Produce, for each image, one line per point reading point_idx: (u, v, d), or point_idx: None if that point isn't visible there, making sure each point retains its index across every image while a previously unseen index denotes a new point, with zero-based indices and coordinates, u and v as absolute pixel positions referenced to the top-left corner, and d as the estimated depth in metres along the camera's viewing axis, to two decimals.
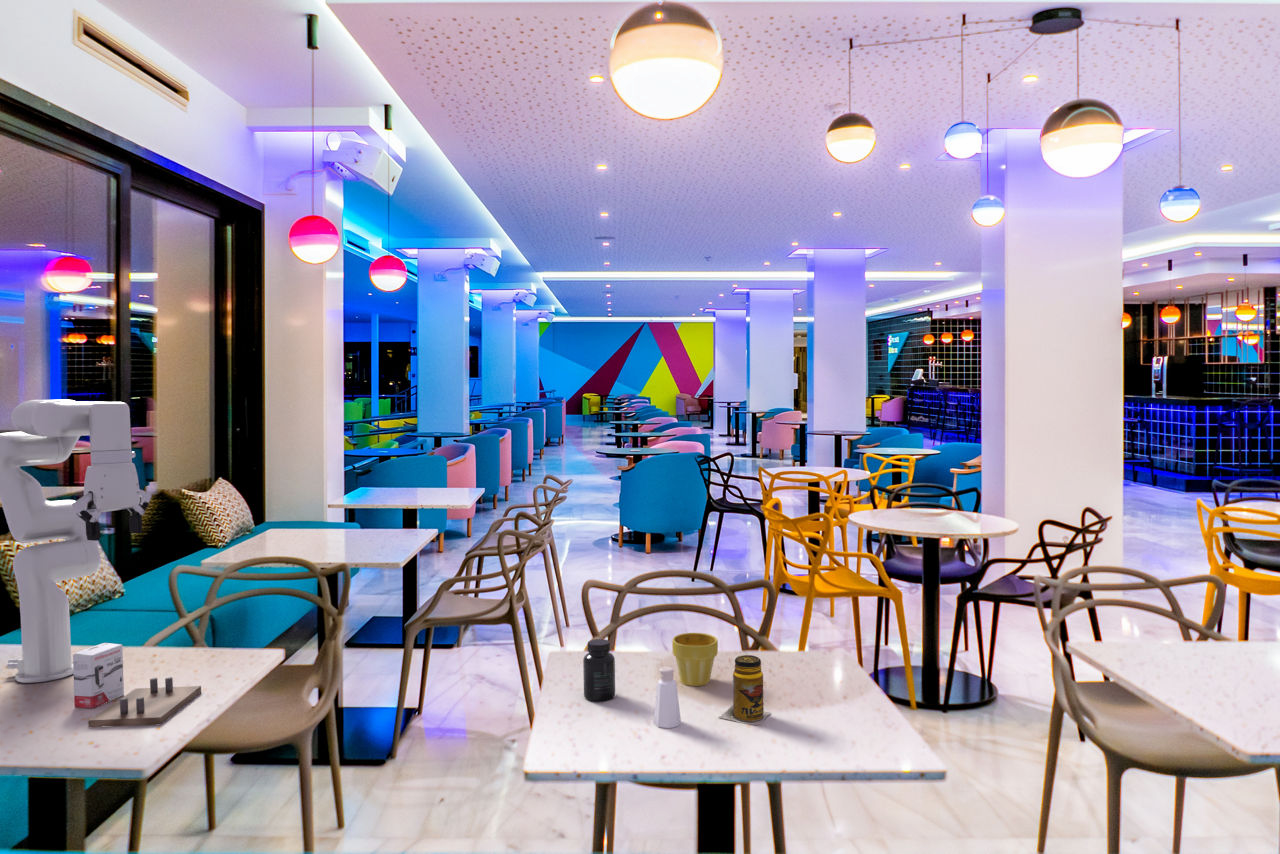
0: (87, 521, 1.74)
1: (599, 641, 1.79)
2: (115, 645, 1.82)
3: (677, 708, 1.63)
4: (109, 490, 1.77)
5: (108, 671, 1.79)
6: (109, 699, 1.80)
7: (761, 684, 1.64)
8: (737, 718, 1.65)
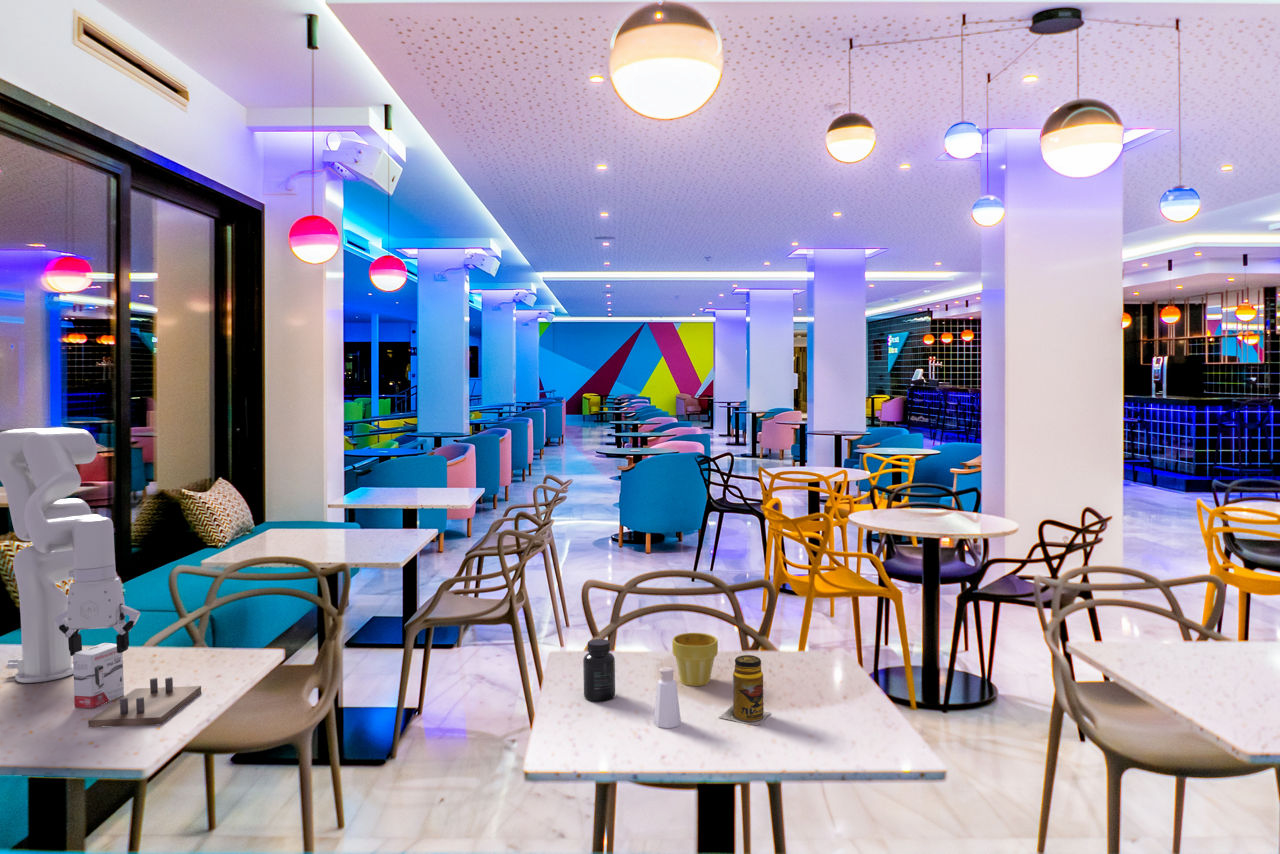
0: (127, 631, 1.80)
1: (599, 641, 1.79)
2: (115, 645, 1.82)
3: (677, 708, 1.63)
4: None
5: (108, 671, 1.79)
6: (109, 699, 1.80)
7: (761, 684, 1.64)
8: (737, 718, 1.65)
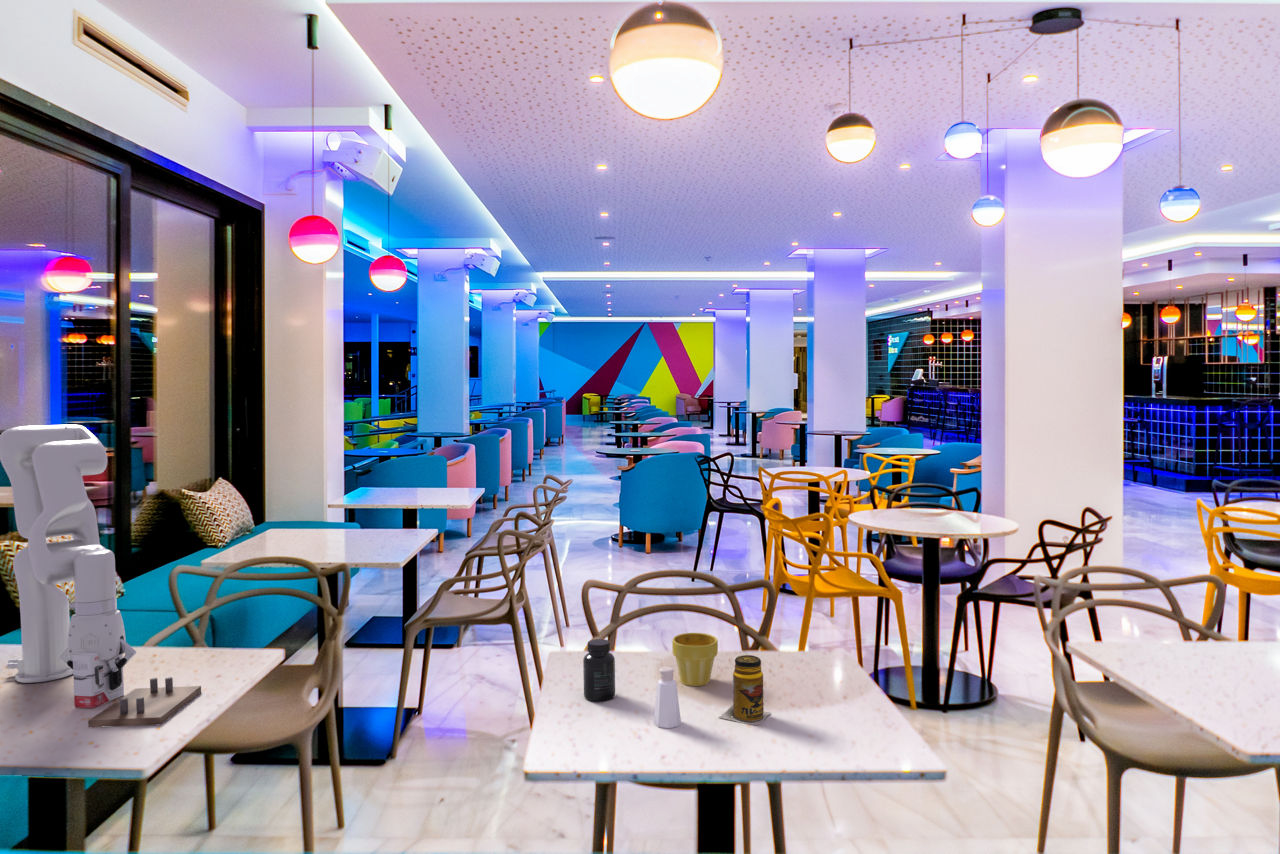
0: (120, 668, 1.80)
1: (599, 641, 1.79)
2: None
3: (677, 708, 1.63)
4: None
5: (107, 670, 1.79)
6: (109, 698, 1.80)
7: (761, 684, 1.64)
8: (737, 718, 1.65)
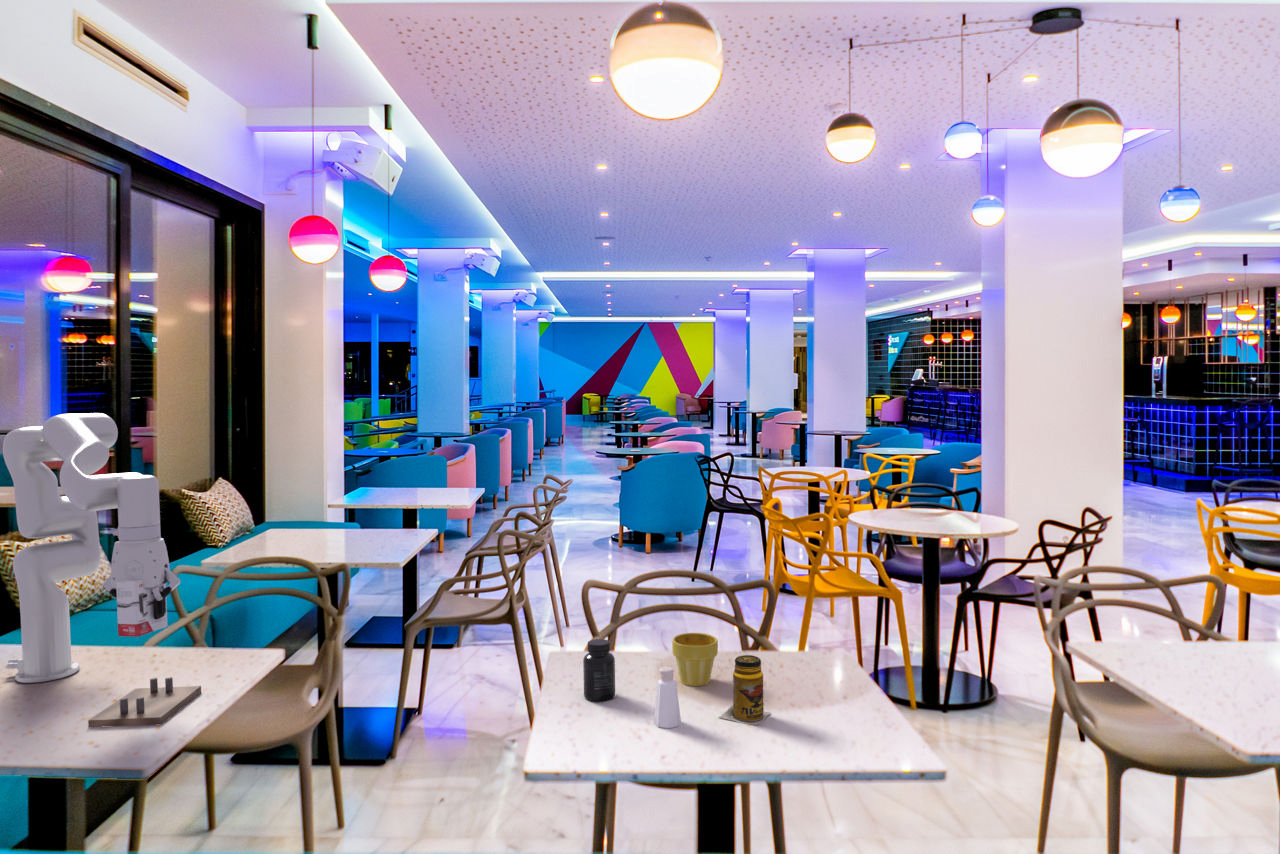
0: (164, 598, 1.75)
1: (599, 641, 1.79)
2: None
3: (677, 708, 1.63)
4: None
5: (151, 599, 1.74)
6: (153, 628, 1.74)
7: (761, 684, 1.64)
8: (737, 718, 1.65)
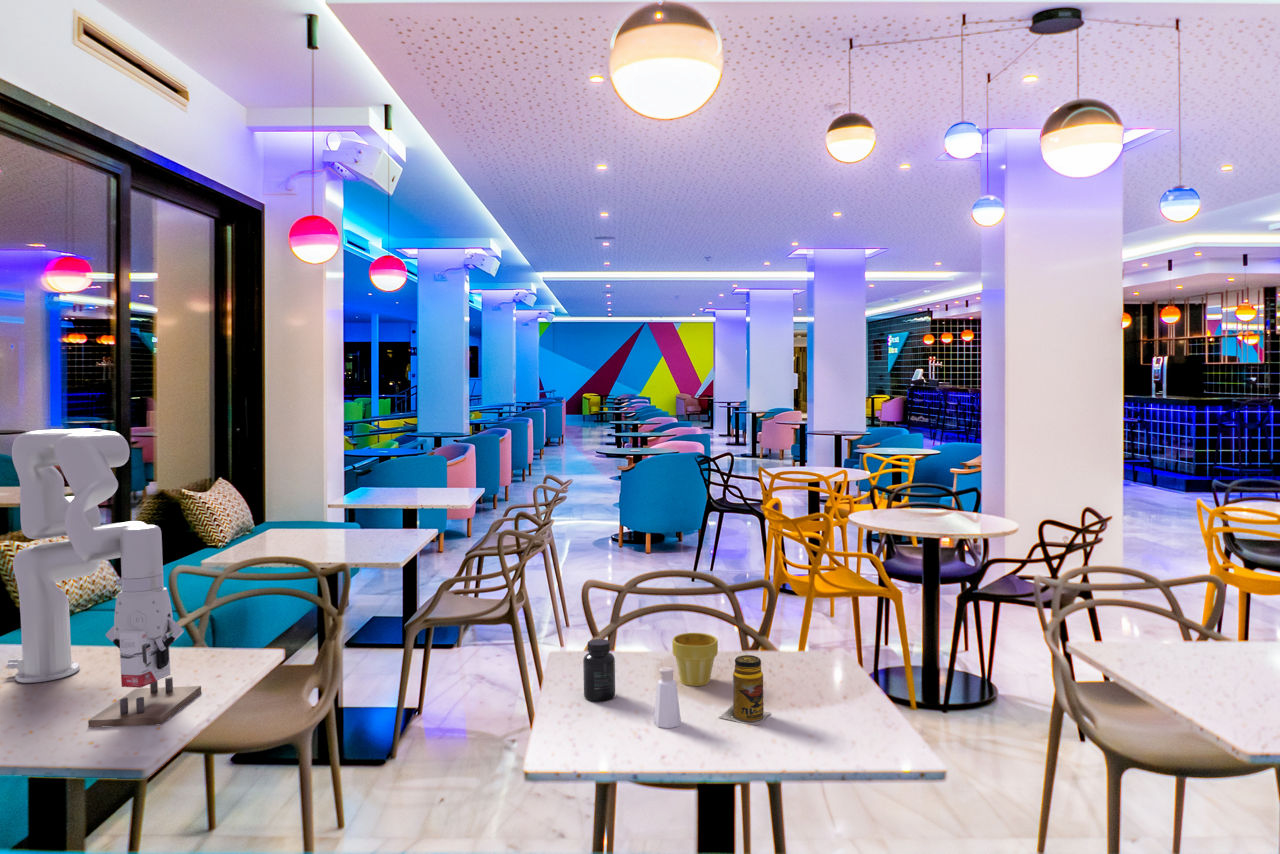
0: (167, 647, 1.75)
1: (599, 641, 1.79)
2: None
3: (677, 708, 1.63)
4: None
5: (155, 649, 1.74)
6: (156, 678, 1.75)
7: (761, 684, 1.64)
8: (737, 718, 1.65)
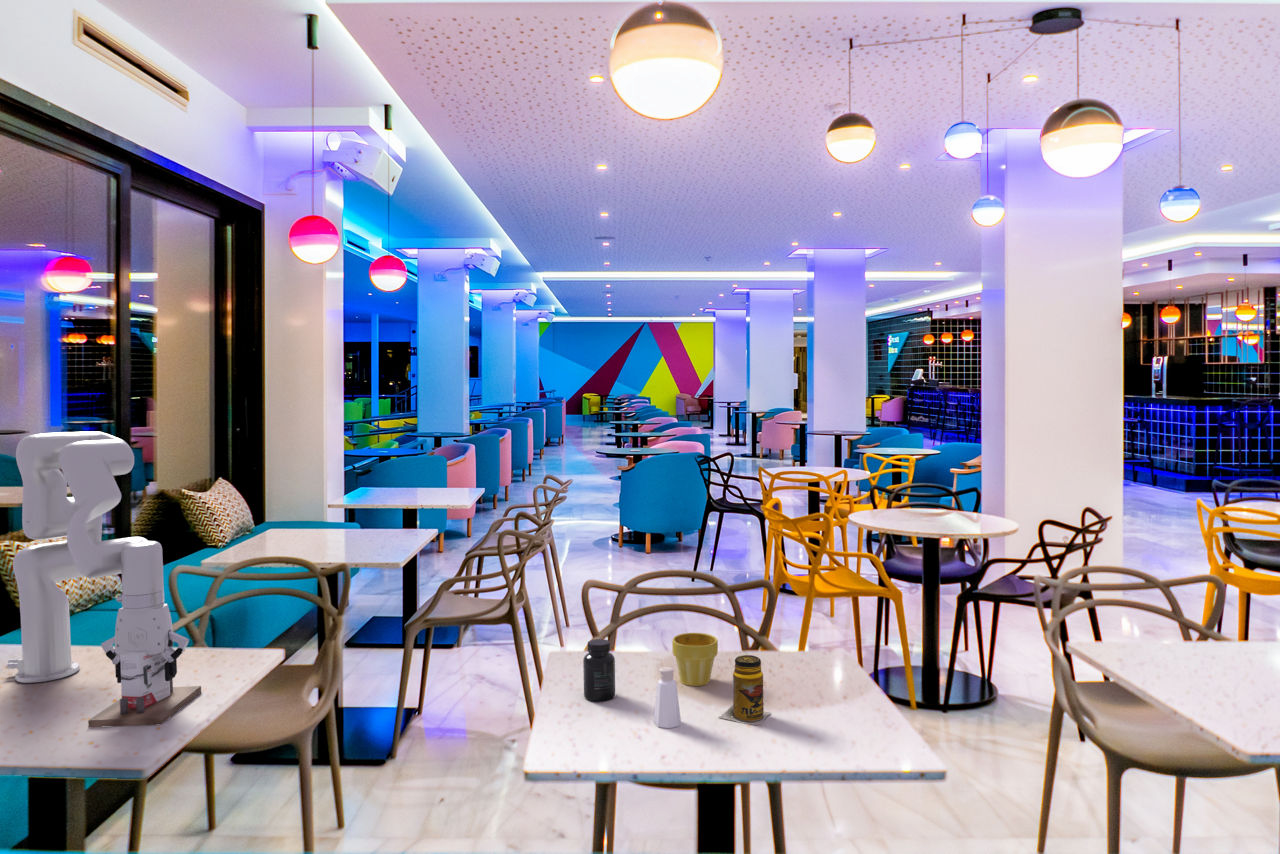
0: (175, 659, 1.75)
1: (599, 641, 1.79)
2: None
3: (677, 708, 1.63)
4: None
5: (155, 670, 1.74)
6: (157, 699, 1.75)
7: (761, 684, 1.64)
8: (737, 718, 1.65)
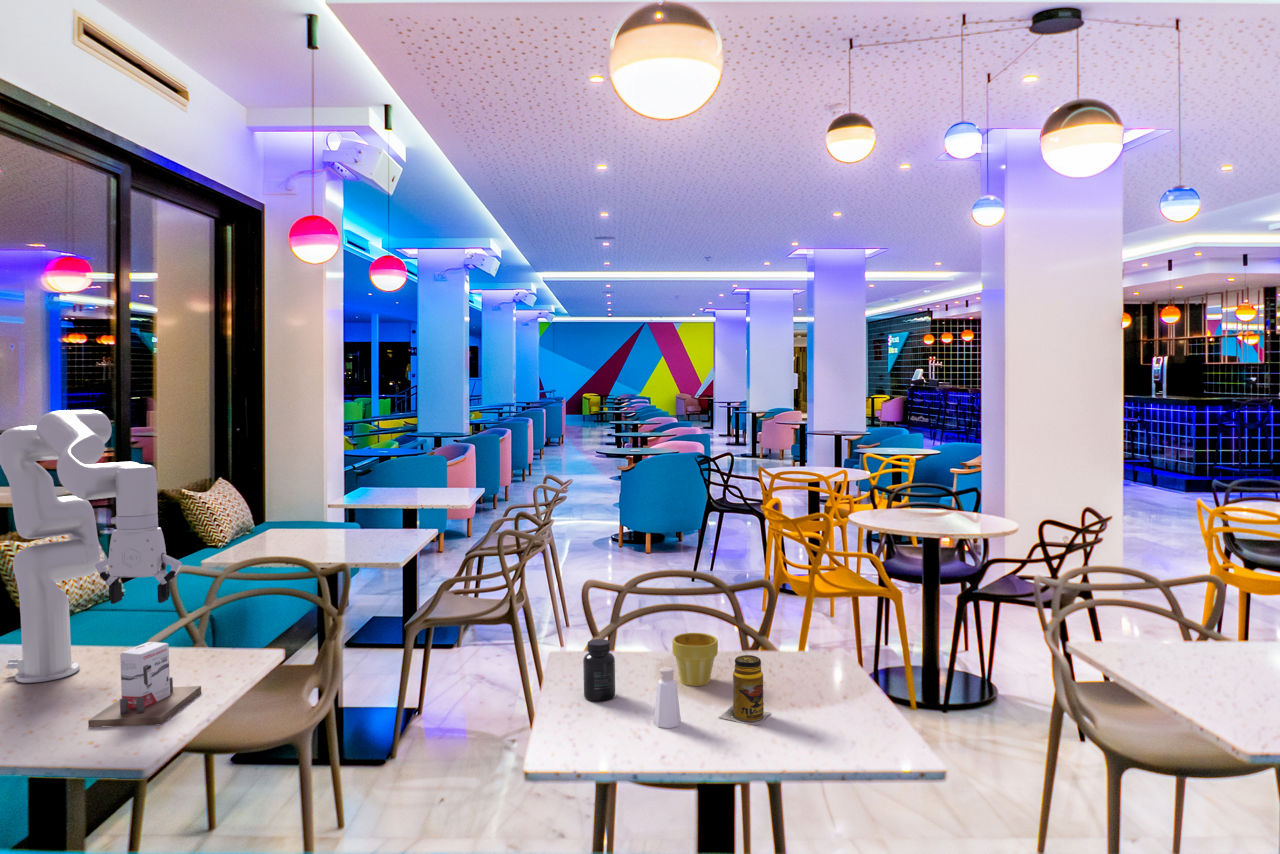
0: (168, 581, 1.77)
1: (599, 641, 1.79)
2: (161, 644, 1.77)
3: (677, 708, 1.63)
4: None
5: (155, 670, 1.74)
6: (157, 699, 1.75)
7: (761, 684, 1.64)
8: (737, 718, 1.65)
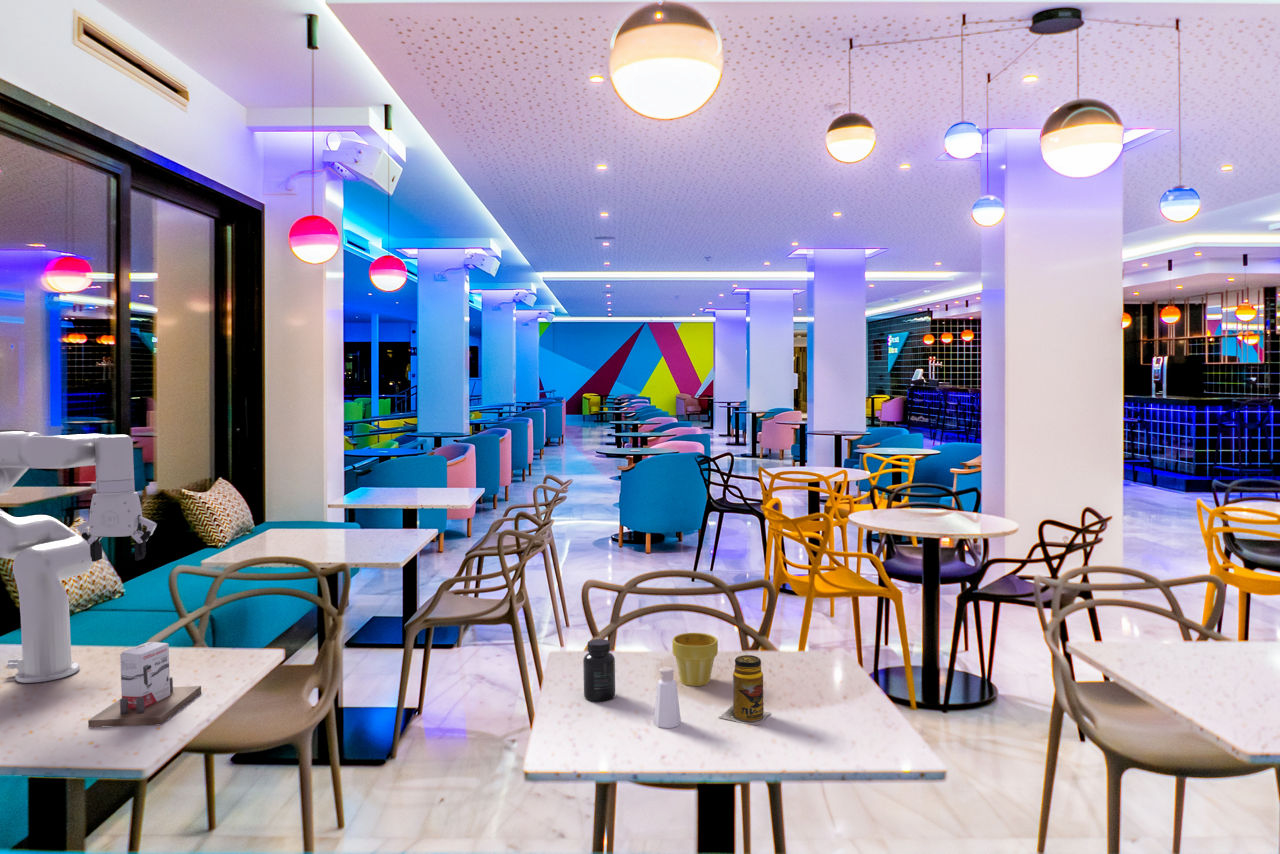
0: (144, 541, 1.94)
1: (599, 641, 1.79)
2: (161, 644, 1.77)
3: (677, 708, 1.63)
4: None
5: (155, 670, 1.74)
6: (157, 699, 1.75)
7: (761, 684, 1.64)
8: (737, 718, 1.65)
